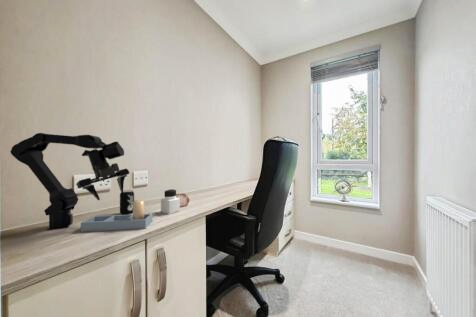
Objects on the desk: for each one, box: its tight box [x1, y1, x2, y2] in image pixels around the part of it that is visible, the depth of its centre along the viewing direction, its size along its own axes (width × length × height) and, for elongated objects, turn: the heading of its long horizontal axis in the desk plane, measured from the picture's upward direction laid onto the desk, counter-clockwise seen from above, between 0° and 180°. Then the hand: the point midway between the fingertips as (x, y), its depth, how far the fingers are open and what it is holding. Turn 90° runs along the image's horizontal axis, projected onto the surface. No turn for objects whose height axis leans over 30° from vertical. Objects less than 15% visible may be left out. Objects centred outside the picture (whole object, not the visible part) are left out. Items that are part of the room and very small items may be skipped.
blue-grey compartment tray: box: [80, 213, 154, 233], centre depth 80 cm, size 25×9×4 cm, turn 97°
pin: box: [132, 199, 145, 220], centre depth 81 cm, size 4×4×10 cm
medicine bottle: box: [160, 189, 181, 215], centre depth 102 cm, size 7×7×12 cm
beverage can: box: [119, 189, 135, 215], centre depth 100 cm, size 7×7×12 cm
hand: (111, 196), depth 83 cm, fingers open, 9 cm apart
